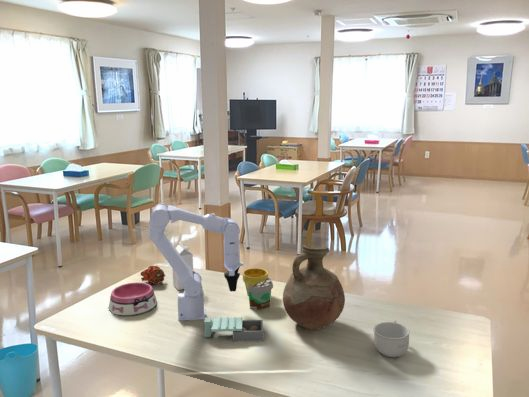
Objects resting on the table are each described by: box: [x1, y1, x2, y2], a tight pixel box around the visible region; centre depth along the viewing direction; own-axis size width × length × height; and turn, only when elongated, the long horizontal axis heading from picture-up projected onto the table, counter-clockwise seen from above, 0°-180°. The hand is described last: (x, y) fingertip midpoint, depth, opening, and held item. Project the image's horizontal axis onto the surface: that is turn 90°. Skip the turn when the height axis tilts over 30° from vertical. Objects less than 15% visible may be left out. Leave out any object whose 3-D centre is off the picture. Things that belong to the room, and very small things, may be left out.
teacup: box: [373, 319, 411, 358], centre depth 144 cm, size 14×11×8 cm
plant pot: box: [242, 267, 269, 297], centre depth 185 cm, size 10×10×10 cm
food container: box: [246, 276, 274, 310], centre depth 173 cm, size 12×6×10 cm, turn 143°
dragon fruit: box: [140, 265, 166, 285], centre depth 198 cm, size 8×8×12 cm
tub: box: [232, 319, 264, 343], centre depth 152 cm, size 10×8×4 cm
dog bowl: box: [107, 282, 158, 318], centre depth 176 cm, size 18×19×7 cm
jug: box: [282, 244, 346, 331], centre depth 157 cm, size 22×22×30 cm
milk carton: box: [171, 241, 194, 291], centre depth 193 cm, size 7×7×19 cm
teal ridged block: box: [203, 316, 243, 338], centre depth 152 cm, size 12×8×6 cm, turn 92°
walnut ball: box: [250, 326, 258, 331], centre depth 153 cm, size 3×3×3 cm
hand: (233, 286), depth 168 cm, fingers open, 7 cm apart
